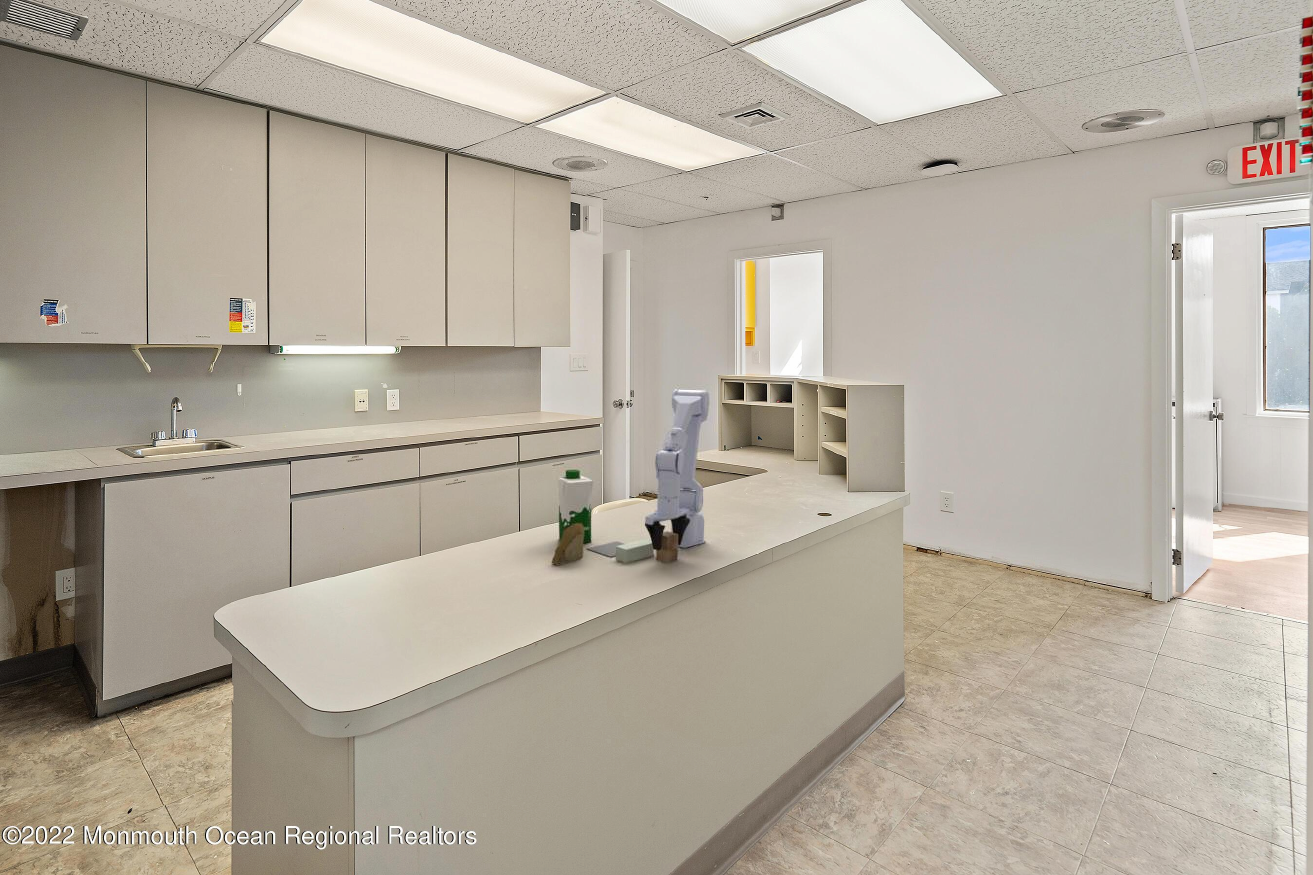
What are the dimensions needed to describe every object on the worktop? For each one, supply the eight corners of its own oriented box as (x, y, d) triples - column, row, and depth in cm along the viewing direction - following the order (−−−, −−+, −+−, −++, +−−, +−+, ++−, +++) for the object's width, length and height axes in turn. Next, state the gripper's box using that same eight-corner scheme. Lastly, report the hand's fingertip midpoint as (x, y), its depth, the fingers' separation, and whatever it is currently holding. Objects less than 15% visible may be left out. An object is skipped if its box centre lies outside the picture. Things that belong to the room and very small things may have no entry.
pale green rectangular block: (643, 552, 187) (643, 539, 187) (653, 555, 184) (653, 542, 184) (615, 559, 180) (615, 546, 180) (626, 562, 177) (626, 549, 177)
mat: (616, 542, 196) (616, 541, 196) (640, 549, 189) (640, 548, 189) (586, 549, 189) (586, 548, 189) (610, 557, 182) (610, 556, 181)
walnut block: (666, 556, 184) (667, 531, 183) (677, 560, 181) (678, 534, 180) (656, 559, 181) (656, 533, 180) (666, 563, 178) (667, 536, 177)
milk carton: (582, 535, 203) (583, 468, 201) (595, 542, 195) (596, 473, 193) (554, 538, 199) (555, 470, 196) (567, 546, 191) (567, 475, 188)
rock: (557, 560, 170) (593, 550, 175) (546, 529, 173) (582, 520, 178) (548, 575, 179) (583, 565, 184) (537, 545, 182) (572, 536, 187)
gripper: (676, 490, 187) (675, 539, 188) (637, 497, 176) (636, 548, 178) (695, 494, 182) (694, 544, 183) (657, 501, 171) (655, 554, 173)
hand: (667, 546), depth 180 cm, fingers open, 7 cm apart
